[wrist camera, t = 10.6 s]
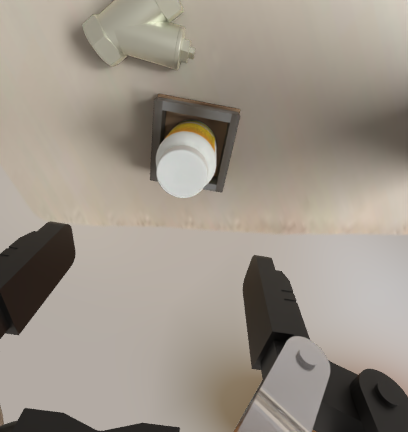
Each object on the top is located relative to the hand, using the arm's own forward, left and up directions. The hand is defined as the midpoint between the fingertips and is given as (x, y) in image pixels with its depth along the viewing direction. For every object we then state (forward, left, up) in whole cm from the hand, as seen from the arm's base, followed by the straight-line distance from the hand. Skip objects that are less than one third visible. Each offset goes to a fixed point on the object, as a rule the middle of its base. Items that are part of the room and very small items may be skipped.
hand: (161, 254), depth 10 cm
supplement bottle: (0, 0, -19) cm, 19 cm away
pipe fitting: (+6, -9, -20) cm, 22 cm away
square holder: (0, 0, -19) cm, 19 cm away
